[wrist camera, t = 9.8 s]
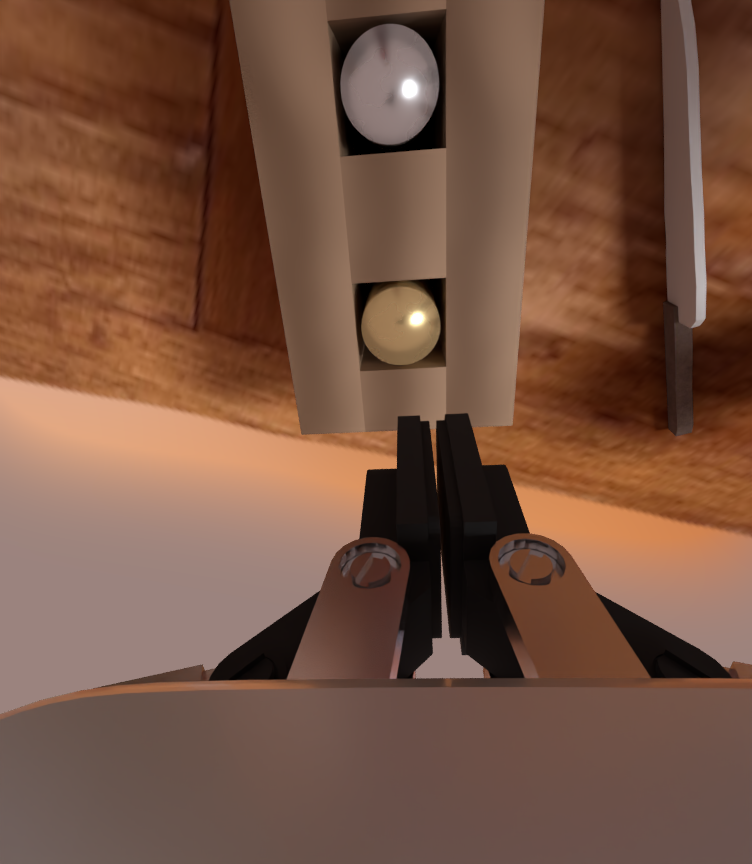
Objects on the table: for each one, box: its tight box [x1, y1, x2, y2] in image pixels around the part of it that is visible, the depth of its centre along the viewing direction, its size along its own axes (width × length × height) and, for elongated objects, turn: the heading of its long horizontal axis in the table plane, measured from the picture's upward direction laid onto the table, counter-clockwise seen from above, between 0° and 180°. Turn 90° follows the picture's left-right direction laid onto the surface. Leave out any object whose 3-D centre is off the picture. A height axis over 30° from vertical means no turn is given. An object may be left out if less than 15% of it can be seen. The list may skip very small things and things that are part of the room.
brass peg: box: [361, 279, 440, 365], centre depth 28 cm, size 4×4×8 cm
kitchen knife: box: [661, 0, 706, 436], centre depth 29 cm, size 4×1×30 cm
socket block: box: [229, 0, 545, 435], centre depth 26 cm, size 12×22×9 cm, turn 4°
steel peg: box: [340, 24, 439, 150], centre depth 23 cm, size 4×4×8 cm
